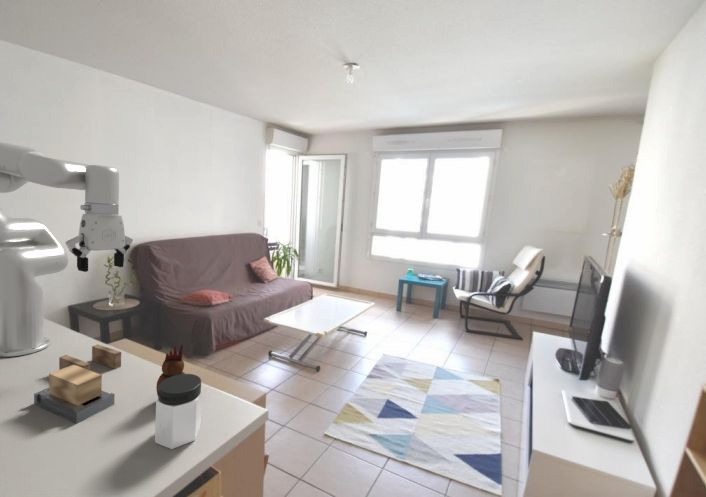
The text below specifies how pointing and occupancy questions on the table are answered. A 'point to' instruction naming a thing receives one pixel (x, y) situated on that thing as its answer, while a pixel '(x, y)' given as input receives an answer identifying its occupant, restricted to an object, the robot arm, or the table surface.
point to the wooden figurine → (171, 366)
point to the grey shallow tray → (73, 405)
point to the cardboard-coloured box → (75, 384)
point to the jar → (178, 410)
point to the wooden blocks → (94, 358)
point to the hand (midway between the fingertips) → (101, 268)
